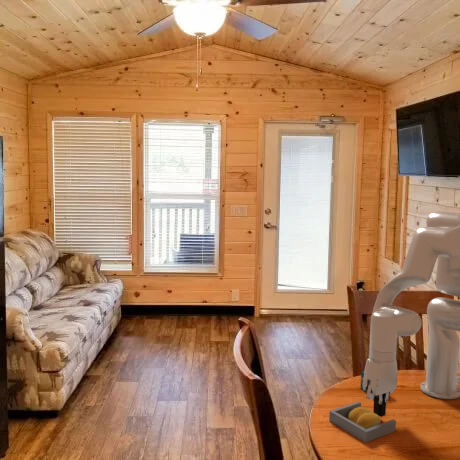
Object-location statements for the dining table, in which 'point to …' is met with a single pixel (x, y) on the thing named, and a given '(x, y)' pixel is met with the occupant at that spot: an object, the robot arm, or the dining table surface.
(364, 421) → the bread roll
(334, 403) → the dining table surface
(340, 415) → the box
